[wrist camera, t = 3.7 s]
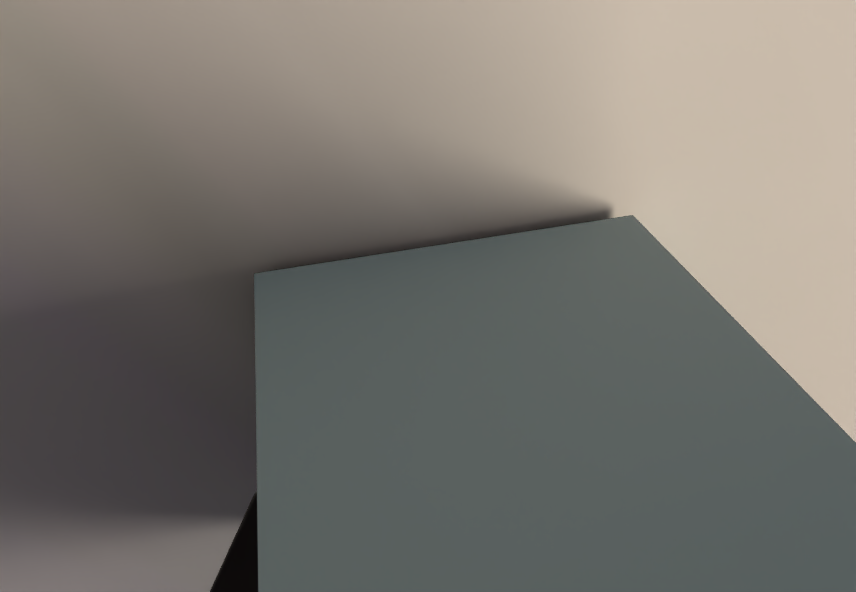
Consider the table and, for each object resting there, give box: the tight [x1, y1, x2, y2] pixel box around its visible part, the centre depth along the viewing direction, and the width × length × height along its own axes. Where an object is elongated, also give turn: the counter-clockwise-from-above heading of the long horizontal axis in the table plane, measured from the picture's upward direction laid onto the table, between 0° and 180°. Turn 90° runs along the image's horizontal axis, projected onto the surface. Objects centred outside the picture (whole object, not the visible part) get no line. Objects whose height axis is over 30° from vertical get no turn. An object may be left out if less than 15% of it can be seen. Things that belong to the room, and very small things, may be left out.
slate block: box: [254, 215, 856, 592], centre depth 8 cm, size 5×5×6 cm
